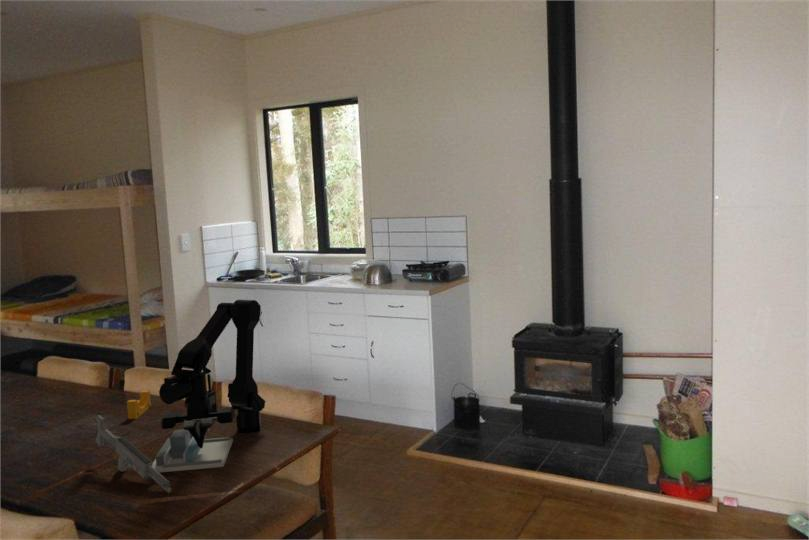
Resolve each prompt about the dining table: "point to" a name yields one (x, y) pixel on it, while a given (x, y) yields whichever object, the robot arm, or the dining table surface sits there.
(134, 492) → the dining table surface
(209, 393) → the walkie-talkie
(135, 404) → the pipe clamp
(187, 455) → the vise free jaw
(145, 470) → the gun
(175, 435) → the steel block
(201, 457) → the vise bed
